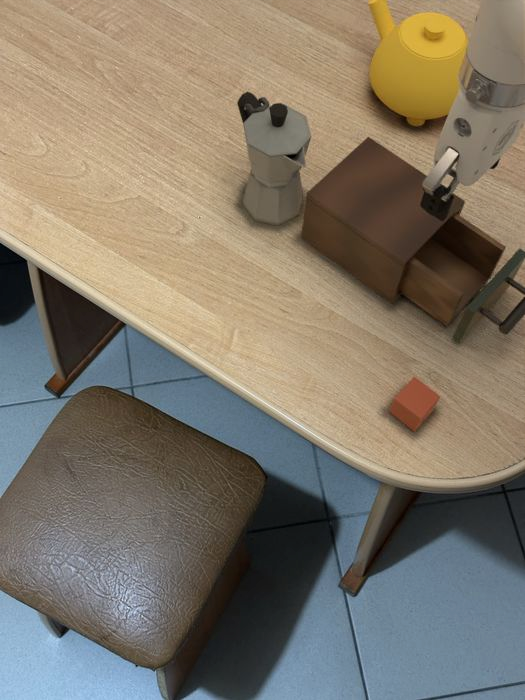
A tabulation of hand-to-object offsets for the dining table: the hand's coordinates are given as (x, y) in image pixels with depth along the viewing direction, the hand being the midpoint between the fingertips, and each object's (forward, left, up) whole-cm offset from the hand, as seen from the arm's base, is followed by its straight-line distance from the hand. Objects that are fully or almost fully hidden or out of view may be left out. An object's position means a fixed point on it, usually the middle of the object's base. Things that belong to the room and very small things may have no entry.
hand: (458, 186), depth 93 cm
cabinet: (+9, -2, -21) cm, 23 cm away
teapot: (+23, -28, -22) cm, 42 cm away
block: (-10, +15, -21) cm, 28 cm away
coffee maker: (+25, +2, -22) cm, 33 cm away
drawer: (-4, -2, -20) cm, 21 cm away
